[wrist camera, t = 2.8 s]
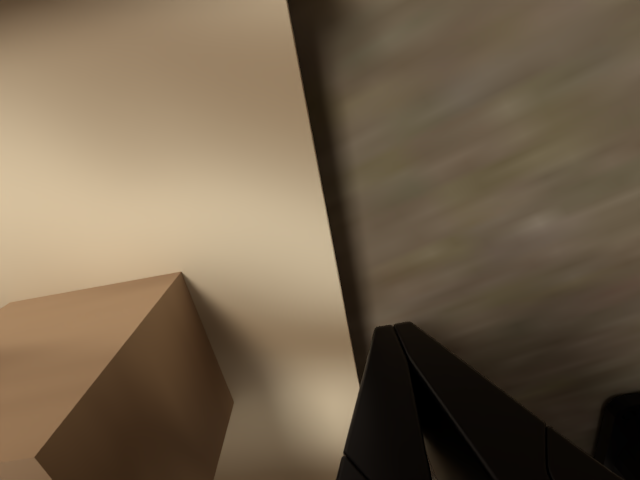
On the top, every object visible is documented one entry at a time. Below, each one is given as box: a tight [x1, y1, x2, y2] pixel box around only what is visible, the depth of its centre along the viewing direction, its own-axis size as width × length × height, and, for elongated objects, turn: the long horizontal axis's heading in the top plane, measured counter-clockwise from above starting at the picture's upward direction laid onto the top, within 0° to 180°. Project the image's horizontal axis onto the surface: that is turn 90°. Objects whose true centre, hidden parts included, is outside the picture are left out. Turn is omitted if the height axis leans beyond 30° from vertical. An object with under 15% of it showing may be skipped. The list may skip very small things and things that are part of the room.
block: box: [0, 272, 234, 480], centre depth 7 cm, size 4×4×4 cm
